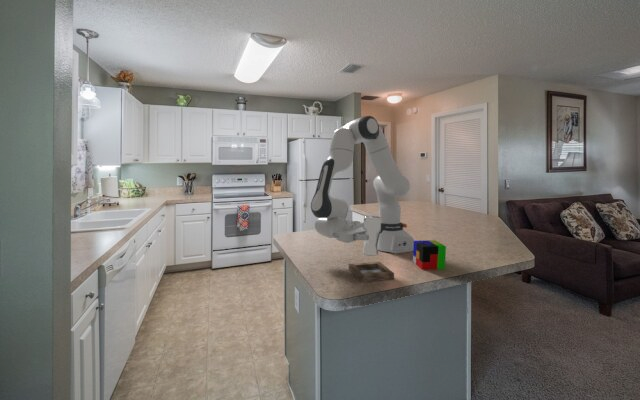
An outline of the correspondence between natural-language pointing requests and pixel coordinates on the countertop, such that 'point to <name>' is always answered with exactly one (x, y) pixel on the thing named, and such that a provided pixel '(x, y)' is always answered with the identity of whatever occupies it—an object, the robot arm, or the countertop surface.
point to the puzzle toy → (429, 254)
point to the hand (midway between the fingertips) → (372, 236)
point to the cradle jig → (370, 271)
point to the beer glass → (371, 234)
